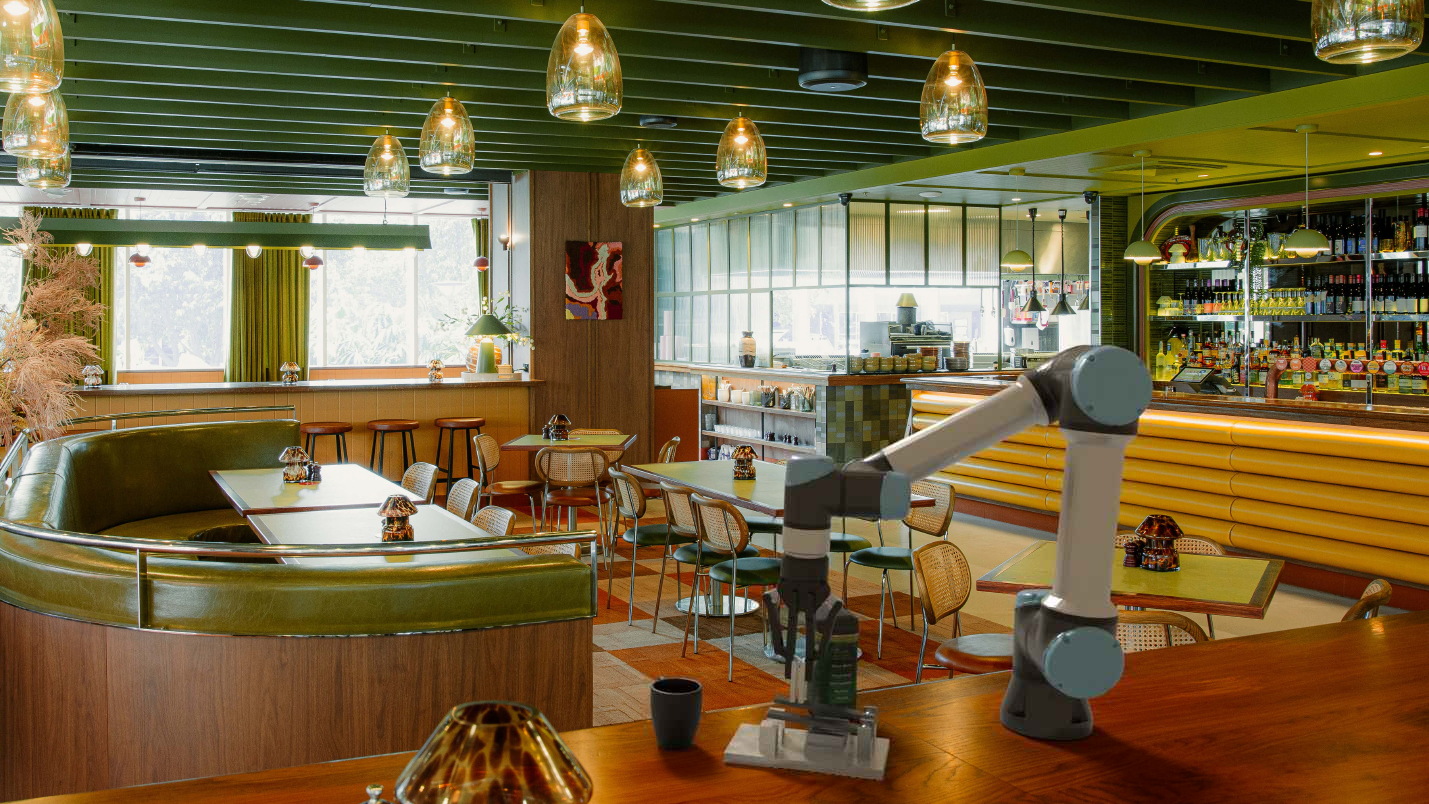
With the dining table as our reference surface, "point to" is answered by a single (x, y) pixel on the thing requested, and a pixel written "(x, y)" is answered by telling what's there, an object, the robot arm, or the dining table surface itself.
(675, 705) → the mug
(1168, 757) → the dining table surface
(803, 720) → the outer strap
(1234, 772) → the dining table surface
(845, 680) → the coffee jar
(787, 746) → the board
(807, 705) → the inner strap
